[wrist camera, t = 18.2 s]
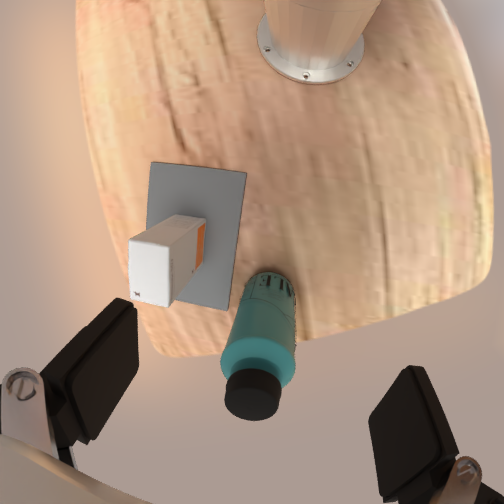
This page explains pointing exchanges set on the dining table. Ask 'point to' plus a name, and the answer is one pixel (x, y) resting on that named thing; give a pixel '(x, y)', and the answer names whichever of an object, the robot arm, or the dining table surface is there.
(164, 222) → the skincare box
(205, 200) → the slate mat
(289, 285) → the beverage bottle
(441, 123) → the dining table surface
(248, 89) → the dining table surface
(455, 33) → the dining table surface
